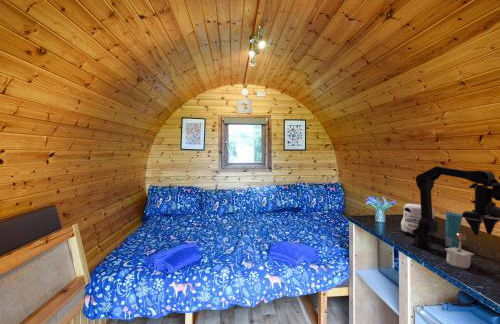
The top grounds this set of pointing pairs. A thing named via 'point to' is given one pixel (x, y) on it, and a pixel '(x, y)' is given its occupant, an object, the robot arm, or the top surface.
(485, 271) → the top surface
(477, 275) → the top surface
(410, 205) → the milk container
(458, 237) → the plunger
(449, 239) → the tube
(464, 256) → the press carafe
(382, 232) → the top surface
